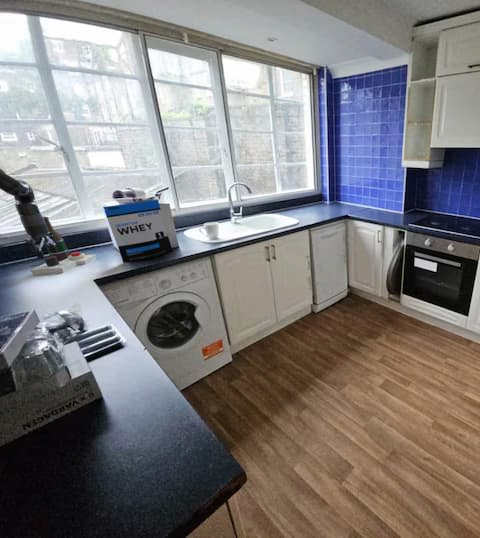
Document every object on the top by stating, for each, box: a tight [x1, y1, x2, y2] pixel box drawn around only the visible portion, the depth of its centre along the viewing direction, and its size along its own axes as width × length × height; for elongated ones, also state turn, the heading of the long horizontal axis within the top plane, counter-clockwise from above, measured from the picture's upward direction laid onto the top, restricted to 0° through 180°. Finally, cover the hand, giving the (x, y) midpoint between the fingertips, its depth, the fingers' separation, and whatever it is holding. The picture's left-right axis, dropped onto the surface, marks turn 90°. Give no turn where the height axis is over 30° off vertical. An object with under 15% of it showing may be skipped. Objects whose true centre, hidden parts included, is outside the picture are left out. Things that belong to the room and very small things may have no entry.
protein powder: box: [102, 199, 173, 264], centre depth 160 cm, size 10×24×30 cm, turn 140°
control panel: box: [30, 260, 78, 276], centre depth 149 cm, size 13×10×3 cm
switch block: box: [60, 252, 98, 266], centre depth 159 cm, size 12×10×4 cm
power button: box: [70, 251, 81, 257], centre depth 158 cm, size 4×4×2 cm
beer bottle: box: [43, 216, 71, 262], centre depth 160 cm, size 8×8×24 cm
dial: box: [43, 256, 60, 267], centre depth 148 cm, size 4×4×4 cm
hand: (48, 255), depth 146 cm, fingers open, 8 cm apart
